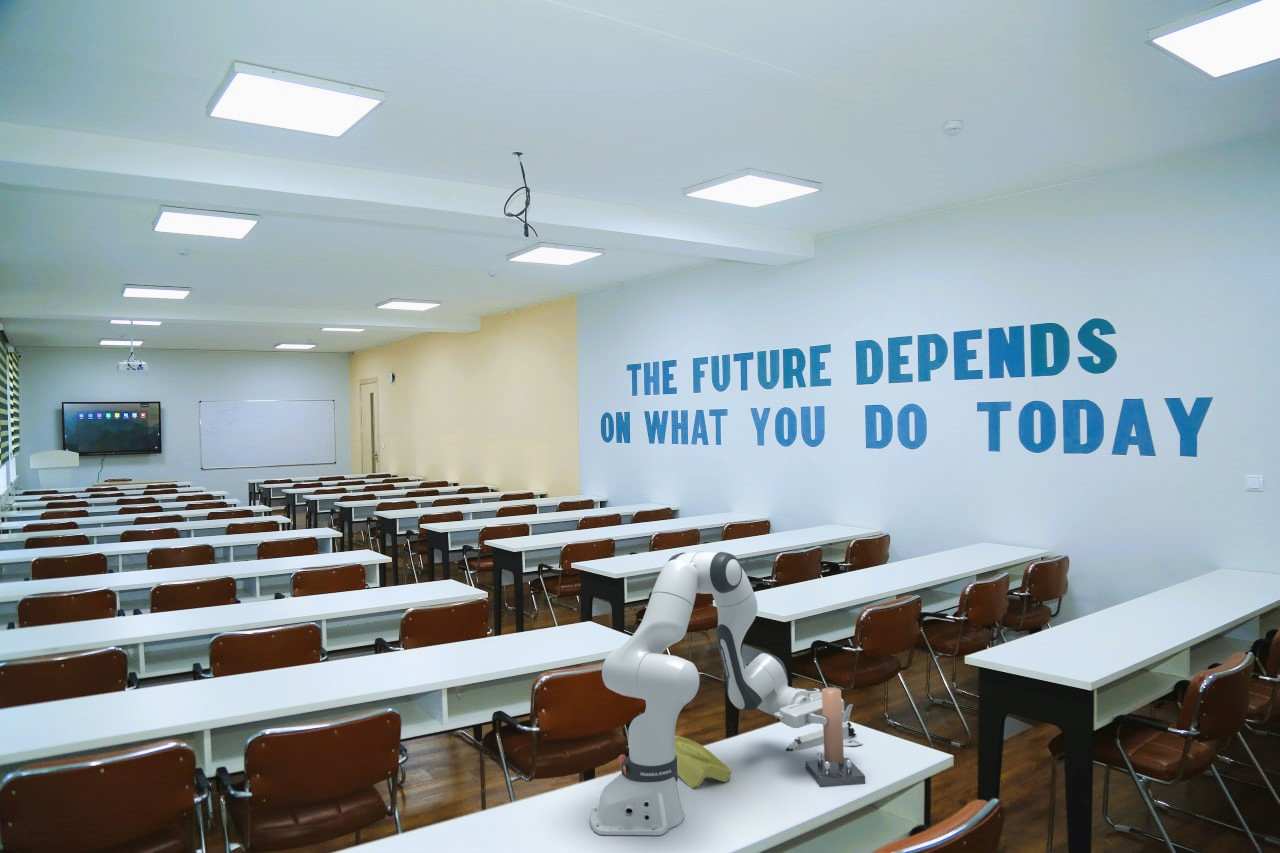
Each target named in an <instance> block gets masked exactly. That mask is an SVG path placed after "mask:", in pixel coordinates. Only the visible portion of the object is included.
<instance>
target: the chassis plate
mask: <svg viewBox="0 0 1280 853" xmlns="http://www.w3.org/2000/svg"><path fill="white" fill-rule="evenodd" d="M823 756H824V755H823V752H820V751H819V752H817V753H816V760H815V759H814V760H806V761H805V760H804V762H805V769H806V771H807V772H808V774H809V775H810V776H811V777H812V779H813V780H814V781H815V782H816V783H817V785H818V786H819V788H824V787H825V788H826V787H838V786H849V785H851V786H852V785H861V784H862V785H863V784H866V774H864V773H863V772H862V770H860V768H858V766H856V764H855V763H853V761H852V759H850V758H849V757H844V760H843V761H842V762H830V761H826V760H825V759H824V757H823Z"/></svg>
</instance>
